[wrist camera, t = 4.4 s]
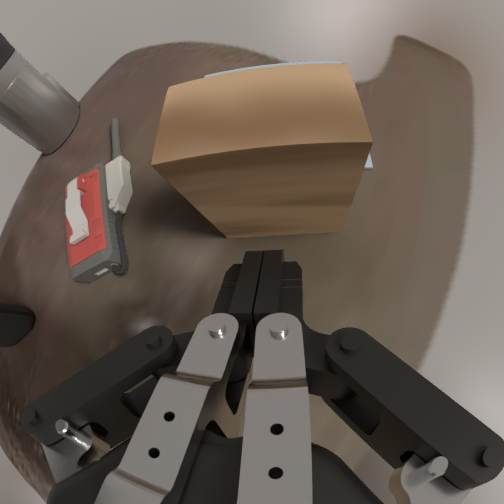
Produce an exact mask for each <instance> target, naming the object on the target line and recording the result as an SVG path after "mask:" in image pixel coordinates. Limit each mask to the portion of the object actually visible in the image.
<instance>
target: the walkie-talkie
mask: <svg viewBox="0 0 504 504" xmlns="http://www.w3.org/2000/svg"><path fill="white" fill-rule="evenodd" d="M111 138H112V154H113V155H112V161H111V162H109V163H108V164H106V165H104V164H102V163H98V164H95V165H93V166H92V167H91V168H89V169H88V170H86V171H85V172H84V173H82V174H80V175H79V176H77V177H75V178H74V180H72V181H71V182H70V183H69V184H67V185H66V189H65V192H64V221H65V235H66V237H65V238H66V248H67V258H68V260H67V261H68V267H69V276H70V277H71V279H72V280H75V281H80V282H85V283H91V282H92V281H94V280H96V279H98V278H100V277H102V276H104V275H106V274H108V273H110V272H112V271H114V273H116V274H119V275H123V274H125V273H126V272H127V270H128V258H127V257H128V255H127V253H126V252H127V250H126V248H125V247H126V245H125V243H124V242H125V240H124V235H123V230H122V218H123V214H125V212H126V209H127V206H128V204H129V201H130V198H131V196H132V193H133V190H132V183H131V177H130V163H129V162H128V161H127V160H126V159H125V158H124V157H123V155H122V153H121V146H120V133H119V126H118V119H117V118H113V119H112V120H111ZM121 266H122V267H121ZM120 267H121V269H120V270H119V269H118V268H120Z"/></svg>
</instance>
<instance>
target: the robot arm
mask: <svg viewBox="0 0 504 504" xmlns="http://www.w3.org/2000/svg"><path fill="white" fill-rule="evenodd" d="M79 105H80V103H79V102H78V101H77V100H76V99H74V98H73V97H72V96H71V95H70V94H69V93H68V92H67V91H66V90H65V89H64V88H63V87H62V86H61V85H60V84H59V83H58V82H57V81H56V80H55V79H53V78H52V77H51V76H50V75H49V74H48V73H45V74H43V75H42V74H41V73H40V72H39V71H38V70H36V68H35V67H33V65H31V64H30V63H29V62H28V61H27V60H26V59H25V58H24V57H23V56H22V55H21V54H20V53H18V51H17V50H15V48H13V47H12V46H11V45H10V43H9V42H8V41H7V40H6V39H5V37H4V36H3V35H2V34H1V33H0V124H2V125H3V126H4V127H6V128H7V129H9V130H10V131H12V132H13V133H15V134H16V135H17V136H19V137H20V138H22V139H23V140H25V141H26V142H27V143H29V144H30V145H32V146H33V147H35V148H36V149H37V150H39V151H41V152H42V153H44V154H50V153H52V152H54V151H55V150H56V149H58V148H59V147H60V146H61V145H62V144H63V142H64V141H65V140H66V139H67V138H68V136H69V135H70V133H71V132H72V130H73V129H74V127H75V125H76V123H77V120H78V118H79ZM252 357H254V365H253V379H252V383H251V384H249V382H250V378H251V369H250V368H251V363H252ZM151 374H152V375H153V376H154V377H152V378H151V379H150V380H148V381H147V382H145V383H144V384H142V385H141V386H139V387H138V388H136V389H135V390H133V391H132V392H130V393H124V392H126V391H127V390H129V389H130V388H132V387H133V386H135V385H136V384H138V383H139V382H141V381H142V380H144V379H145V378H147V377H148V376H150V375H151ZM247 389H248V390H247ZM246 393H247V399H246V411H245V423H244V434H243V437H239V432H240V425H239V421H240V415H241V412H242V408H243V404H244V401H245V397H246ZM308 393H310V394H314V395H317V396H321V397H322V399H323V400H324V401H325V403H326V404H327V405H328V406H329V407H330V408H331V409H332V410H333V411H334V412H335V413H336V414H337V415H338V416H339V417H340V418H341V419H342V420H343V421H344V422H345V423H346V424H347V425H348V426H349V427H350V428H351V429H352V430H353V431H355V432H356V433H357V434H358V435H359V436H360V437H361V438H362V439H363V440H364V441H365V442H366V443H367V444H368V445H369V446H370V447H371V448H372V449H373V450H374V451H376V452H377V453H378V454H379V455H380V456H381V457H382V458H383V459H384V460H385V461H386V462H388V463H389V464H390V465H391V466H392V467H393V468H394V469H395V470H394V472H393V473H392V475H391V477H390V481H389V489H390V492H391V494H392V495H393V496H394V498H395V499H396V501H397V504H461V502H462V501H463V500H464V499H465V497H466V496H467V495H468V493H469V492H470V491H471V490H472V489H473V488H475V487H477V486H479V485H482V484H484V483H487V482H489V481H490V480H492V479H494V478H495V477H496V476H497V475H498V474H499V473H500V472H501V471H502V469H503V467H504V441H503V439H502V438H501V437H500V436H499V435H497V434H496V433H495V432H493V431H492V430H491V429H490V428H488V427H487V426H486V425H485V424H483V423H482V422H481V421H479V420H478V419H477V418H476V417H474V416H473V415H472V414H471V413H469V412H468V411H467V410H465V409H464V408H463V407H462V406H460V405H459V404H458V403H456V402H455V401H454V400H452V399H451V398H450V397H449V396H447V395H446V394H445V393H444V392H442V391H441V390H440V389H438V388H437V387H436V386H435V385H433V384H432V383H431V382H429V381H428V380H427V379H425V378H424V377H423V376H422V375H420V374H419V373H418V372H416V371H415V370H414V369H413V368H411V367H410V366H409V365H407V364H406V363H405V362H403V361H402V360H401V359H400V358H398V357H397V356H396V355H394V354H393V353H392V352H390V351H389V350H388V349H387V348H385V347H384V346H383V345H381V344H380V343H379V342H377V341H376V340H375V339H374V338H372V337H371V336H370V335H368V334H367V333H366V332H364V331H362V330H360V329H357V328H342V329H339V330H337V331H335V332H333V333H332V334H331V335H326V334H322V333H318V332H316V331H313V330H312V329H310V328H309V327H308V326H307V325H306V324H305V323H304V321H303V289H302V269H301V267H300V266H299V265H298V263H297V262H296V261H294V262H284V253H283V250H265V252H264V251H246V252H245V255H244V259H243V262H242V264H233V265H232V266H231V267H230V268H229V269H228V271H227V272H226V274H225V277H224V280H223V282H222V285H221V290H220V291H219V294H218V297H217V300H216V303H215V306H214V309H213V311H212V314H211V315H209V316H207V317H205V318H204V319H203V320H202V321H200V323H199V324H198V326H197V328H196V330H195V331H192V332H189V333H184V334H179V335H174V336H173V334H172V332H171V331H170V330H169V329H168V328H167V327H164V326H153V327H150V328H148V329H146V330H144V331H142V332H141V333H139V334H138V335H136V336H135V337H133V338H132V339H130V340H129V341H127V342H125V343H124V344H122V345H121V346H119V347H118V348H116V349H115V350H113V351H111V352H110V353H108V354H107V355H105V356H104V357H102V358H101V359H99V360H97V361H96V362H94V363H93V364H91V365H90V366H88V367H86V368H85V369H83V370H82V371H80V372H79V373H77V374H75V375H74V376H72V377H71V378H69V379H68V380H66V381H64V382H63V383H61V384H60V385H58V386H57V387H55V388H53V389H52V390H50V391H49V392H47V393H46V394H44V395H42V396H41V397H39V398H38V399H36V400H34V401H33V402H31V403H30V404H28V405H27V406H26V408H25V409H24V411H23V413H22V416H21V425H22V428H23V430H24V431H25V432H26V433H27V434H29V435H30V436H31V437H33V438H34V439H36V440H37V441H39V442H40V443H41V444H42V446H43V449H44V452H45V455H46V458H47V461H48V463H49V466H50V469H51V471H52V474H53V476H54V479H55V481H56V485H55V486H54V487H53V488H52V489H51V491H50V493H49V495H48V498H47V504H384V503H382V502H381V500H380V499H379V498H378V497H377V496H376V495H375V494H373V492H372V491H371V490H370V489H369V488H368V487H367V486H366V485H365V484H364V483H363V482H362V481H361V480H360V479H359V478H358V477H357V476H356V474H355V473H354V472H353V471H352V470H351V469H350V468H349V467H348V466H347V465H346V464H345V462H344V461H343V460H342V459H341V458H339V457H338V456H337V455H336V454H334V453H333V452H331V451H330V450H328V449H326V448H324V447H322V446H320V445H317V444H314V443H311V430H310V412H309V396H308ZM132 435H133V436H132ZM130 436H132V437H130ZM129 437H130V438H129ZM127 438H129V439H127ZM125 439H127V440H126V441H124V440H125ZM122 441H124V442H123V443H121V442H122ZM119 443H121V444H120V445H118V446H117V447H115V448H114V449H112V450H111V451H110V449H111V448H113V447H114V446H116V445H117V444H119Z"/></svg>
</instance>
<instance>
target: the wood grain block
mask: <svg viewBox="0 0 504 504" xmlns="http://www.w3.org/2000/svg"><path fill="white" fill-rule="evenodd" d="M372 143H373V142H372V138H371V134H370V131H369V127H368V124H367V121H366V117H365V114H364V111H363V108H362V105H361V102H360V99H359V96H358V93H357V90H356V87H355V85H354V82H353V79H352V77H351V74H350V72H349V69H348V67H347V64H346V63H319V64H297V65H284V66H273V67H264V68H256V69H249V70H243V71H237V72H231V73H225V74H220V75H215V76H211V77H206V78H202V79H197V80H193V81H189V82H185V83H181V84H178V85H174V86H171V87H169V88H168V91H167V95H166V99H165V103H164V106H163V110H162V115H161V119H160V123H159V127H158V132H157V136H156V141H155V146H154V151H153V156H152V161H151V166H152V167H153V168H154V169H155V170H156V171H157V172H158V173H159V174H161V175H162V176H163V177H164V178H165V179H166V180H167V181H168V182H169V183H170V184H171V185H172V186H173V187H174V188H175V189H176V190H177V191H178V192H179V193H180V194H181V195H183V196H184V197H185V198H186V199H187V200H188V201H189V202H190V203H191V204H192V205H193V206H194V207H195V208H196V209H197V210H198V211H199V212H200V213H201V214H202V215H204V216H205V217H206V218H207V219H208V220H209V221H210V222H211V223H212V224H213V225H214V226H215V227H216V228H217V229H218V230H219V231H220V232H221V233H223V234H224V235H225V236H226V237H227V238H242V237H259V236H276V235H295V234H314V233H334V232H341V230H342V228H343V225H344V223H345V220H346V217H347V215H348V212H349V209H350V207H351V204H352V201H353V199H354V196H355V193H356V190H357V188H358V185H359V182H360V179H361V176H362V173H363V170H364V167H365V164H366V161H367V158H368V155H369V152H370V149H371V146H372Z"/></svg>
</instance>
